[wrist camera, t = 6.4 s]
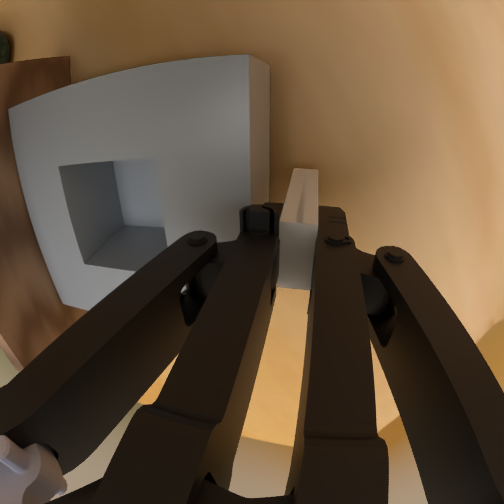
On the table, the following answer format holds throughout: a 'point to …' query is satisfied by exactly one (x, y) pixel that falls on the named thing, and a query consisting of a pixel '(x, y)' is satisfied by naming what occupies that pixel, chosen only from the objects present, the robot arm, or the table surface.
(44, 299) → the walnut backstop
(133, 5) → the table surface
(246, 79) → the socket block
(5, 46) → the coffee jar
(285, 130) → the table surface
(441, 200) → the table surface
